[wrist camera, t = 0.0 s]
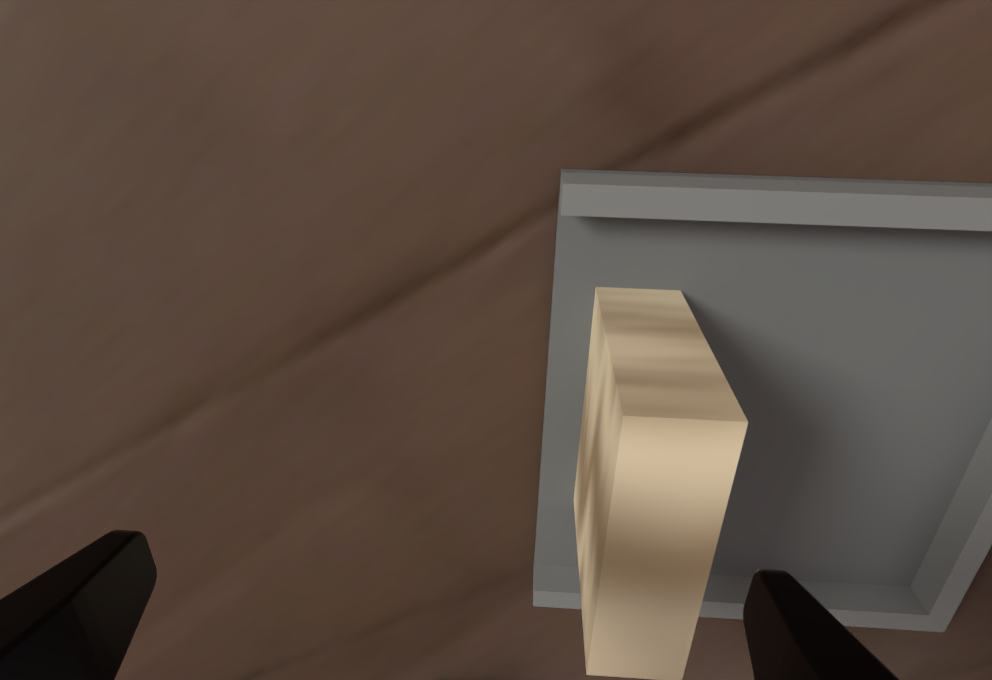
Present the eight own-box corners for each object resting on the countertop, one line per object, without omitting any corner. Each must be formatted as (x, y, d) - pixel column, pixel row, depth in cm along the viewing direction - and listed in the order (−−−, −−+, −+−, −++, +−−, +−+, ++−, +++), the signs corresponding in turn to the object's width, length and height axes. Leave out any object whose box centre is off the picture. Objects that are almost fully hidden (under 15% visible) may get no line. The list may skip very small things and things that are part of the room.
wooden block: (643, 504, 27) (681, 681, 20) (573, 500, 27) (586, 674, 20) (680, 290, 22) (748, 422, 15) (595, 286, 22) (623, 415, 15)
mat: (919, 594, 29) (944, 632, 27) (533, 570, 30) (533, 606, 28) (1120, 187, 20) (1176, 204, 18) (560, 168, 21) (563, 183, 19)
